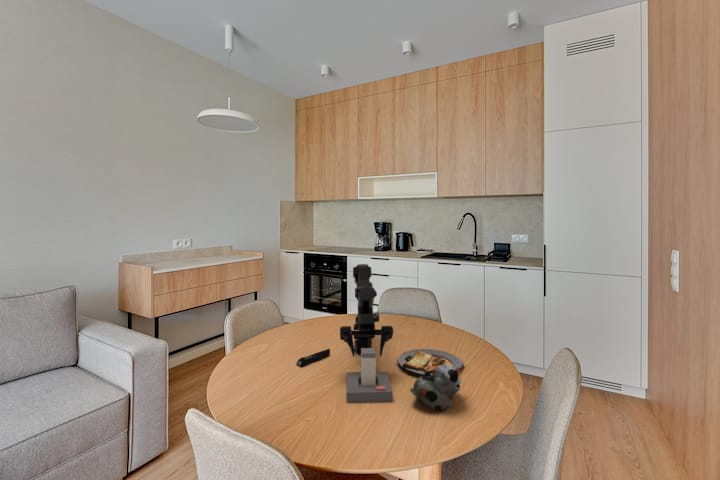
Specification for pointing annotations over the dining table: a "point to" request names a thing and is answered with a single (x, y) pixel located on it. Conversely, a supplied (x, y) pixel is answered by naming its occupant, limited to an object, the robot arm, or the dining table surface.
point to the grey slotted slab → (368, 388)
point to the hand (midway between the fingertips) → (367, 356)
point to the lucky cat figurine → (438, 387)
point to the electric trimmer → (312, 358)
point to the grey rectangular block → (368, 367)
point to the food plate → (426, 360)
